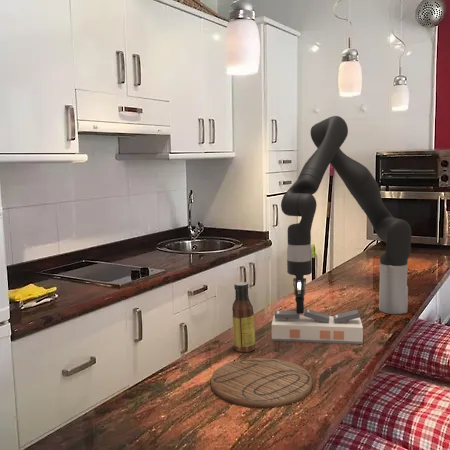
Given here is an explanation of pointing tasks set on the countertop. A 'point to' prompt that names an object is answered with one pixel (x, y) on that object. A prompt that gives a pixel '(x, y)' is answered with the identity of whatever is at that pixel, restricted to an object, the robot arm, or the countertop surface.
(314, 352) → the countertop surface
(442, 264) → the countertop surface
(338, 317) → the plate
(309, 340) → the switch console
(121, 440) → the countertop surface
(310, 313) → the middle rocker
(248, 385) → the trivet
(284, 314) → the far rocker
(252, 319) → the sauce bottle
